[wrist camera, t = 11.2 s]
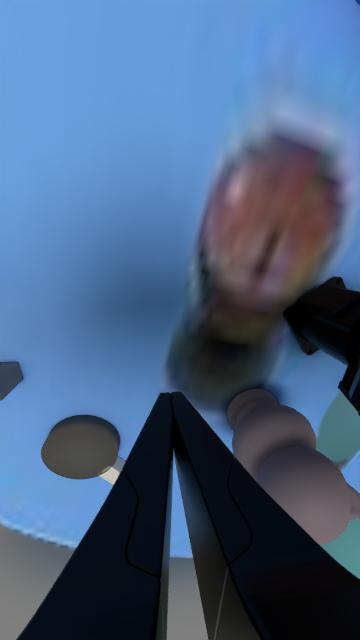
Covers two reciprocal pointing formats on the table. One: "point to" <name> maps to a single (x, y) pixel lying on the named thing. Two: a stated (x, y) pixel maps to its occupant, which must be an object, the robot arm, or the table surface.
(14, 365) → the breaker housing
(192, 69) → the table surface
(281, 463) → the cat figurine
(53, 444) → the ping pong paddle
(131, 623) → the robot arm
